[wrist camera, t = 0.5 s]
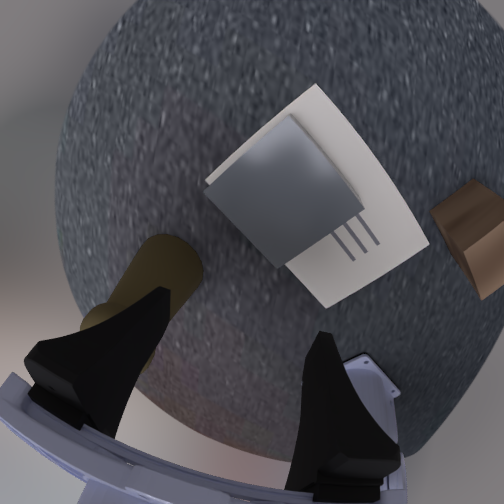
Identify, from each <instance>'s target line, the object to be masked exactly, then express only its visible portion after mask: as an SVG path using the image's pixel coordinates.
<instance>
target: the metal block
mask: <svg viewBox="0 0 504 504" xmlns="http://www.w3.org/2000/svg"><path fill="white" fill-rule="evenodd" d="M203 193H204V194H205V195H206V196H207V197H208V198H209V199H210V200H211V201H212V202H213V203H214V204H215V205H216V206H217V207H218V208H219V209H220V210H221V211H222V213H223V214H224V215H225V216H226V217H227V218H228V219H229V220H230V221H231V222H232V223H233V224H234V225H235V226H236V227H237V228H238V229H239V230H240V231H241V232H242V233H243V234H244V235H245V236H246V237H247V238H248V240H249V241H250V242H251V243H252V244H253V245H254V246H255V247H256V248H257V249H258V250H259V251H260V252H261V253H262V254H263V255H264V256H265V257H266V258H267V259H268V260H269V261H270V262H271V263H272V265H273V266H274V267H275V268H276V269H278V268H280V267H281V266H283V265H284V264H286V263H287V262H289V261H290V260H292V259H293V258H295V257H296V256H298V255H299V254H301V253H302V252H303V251H305V250H306V249H308V248H309V247H311V246H312V245H314V244H315V243H317V242H318V241H320V240H321V239H323V238H324V237H325V236H327V235H328V234H330V233H331V232H333V231H334V230H336V229H337V228H338V227H340V226H341V225H343V224H344V223H346V222H347V221H348V220H350V219H351V218H353V217H354V216H356V215H357V214H358V213H360V212H361V211H363V210H364V209H365V208H364V206H363V204H362V201H361V199H360V197H359V195H358V194H357V193H356V191H355V190H354V189H353V187H352V186H351V185H350V183H349V182H348V181H347V179H346V178H345V177H344V175H343V174H342V173H341V172H340V170H339V169H338V168H337V167H336V165H335V164H334V163H333V162H332V160H331V159H330V158H329V157H328V155H327V154H326V153H325V152H324V151H323V149H322V148H321V147H320V146H319V145H318V143H317V142H316V141H315V140H314V139H313V138H312V136H311V135H310V134H309V133H308V132H307V131H306V129H305V128H304V127H303V126H302V125H301V124H300V123H299V122H298V120H297V119H296V118H295V117H294V116H293V115H292V114H290V115H288V116H287V117H286V118H285V119H283V120H282V121H281V122H280V123H279V124H277V125H276V126H275V127H274V128H273V129H272V130H270V131H269V132H268V133H267V134H266V135H265V136H263V137H262V138H261V139H260V140H259V141H258V142H256V143H255V144H254V145H253V146H252V147H251V148H250V149H249V150H247V151H246V152H245V153H244V154H243V155H242V156H241V157H240V158H238V159H237V160H236V161H235V162H234V163H233V164H232V165H231V166H230V167H229V168H227V169H226V170H225V171H224V172H223V173H222V174H221V175H220V176H219V177H218V178H217V179H216V180H215V181H214V182H212V183H211V184H210V185H209V186H208V187H207V188H206V189H205V190H204V191H203Z"/></svg>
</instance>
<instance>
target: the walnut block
mask: <svg viewBox="0 0 504 504" xmlns="http://www.w3.org/2000/svg"><path fill="white" fill-rule="evenodd" d="M430 213H431V215H432V217H433V219H434V221H435V223H436V225H437V227H438V228H439V230H440V232H441V234H442V236H443V238H444V240H445V243H446V245H447V247H448V249H449V251H450V253H451V255H452V256H453V258H454V259H455V261H456V262H457V263H458V265H459V266H460V268H461V269H462V271H463V272H464V274H465V275H466V277H467V278H468V280H469V281H470V283H471V284H472V286H473V288H474V289H475V291H476V292H477V294H478V296H479V297H480V299H481V301H482V300H483V299H484V298H486V297H487V296H489V295H490V294H491V293H493V292H494V291H495V290H497V289H498V288H499V287H501V286H502V285H503V284H504V199H502V198H501V197H500V196H498V195H497V194H495V193H494V192H493V191H491V190H490V189H488V188H487V187H485V186H484V185H482V184H481V183H479V182H478V181H476V180H475V179H472V180H471V181H469V182H468V183H467V184H465V185H464V186H463V187H461V188H460V189H459V190H457V191H456V192H455V193H453V194H452V195H451V196H449V197H448V198H447V199H445V200H444V201H443V202H441V203H440V204H439V205H437V206H436V207H434V208H433V209H432V210H430Z"/></svg>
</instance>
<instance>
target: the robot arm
mask: <svg viewBox="0 0 504 504" xmlns="http://www.w3.org/2000/svg"><path fill="white" fill-rule="evenodd" d="M170 299H171V290H170V289H167V288H164V287H161V286H159V287H157V288H155V289H154V290H152V291H151V292H150V293H148V294H147V295H145V296H144V297H143V298H141V299H140V300H138V301H137V302H135V303H134V304H132V305H131V306H129V307H128V308H126V309H124V310H123V311H121V312H119V313H118V314H116V315H114V316H113V317H111V318H109V319H107V320H105V321H103V322H101V323H99V324H97V325H95V326H92V327H90V328H87V329H84V330H82V331H79V332H76V333H73V334H70V335H67V336H63V337H59V338H54V339H49V340H43V341H39V342H38V343H37V344H36V345H35V346H34V347H33V349H32V350H31V351H30V352H29V354H28V355H27V356H26V357H25V359H24V364H25V366H26V369H27V370H28V372H29V374H30V375H31V377H32V379H33V380H34V382H35V384H34V385H33V387H31V386H30V385H29V384H28V383H27V382H26V381H25V380H23V379H22V378H20V377H19V376H18V375H17V374H15V373H14V372H12V373H11V374H10V376H9V377H8V378H7V379H6V381H5V382H4V383H3V385H2V386H1V387H0V420H1V421H2V422H3V423H4V424H5V425H6V426H7V427H8V428H9V429H10V430H11V431H12V432H13V433H14V434H16V435H17V436H18V437H19V438H21V439H22V440H23V441H24V442H26V443H27V444H28V445H30V446H31V447H32V448H34V449H35V450H37V451H38V452H39V453H40V454H42V455H43V456H45V457H46V458H48V459H49V460H50V461H52V462H53V463H55V464H56V465H58V466H59V467H61V468H62V469H64V470H65V471H67V472H69V473H70V474H72V475H74V476H75V477H77V478H78V479H80V480H82V481H83V482H85V483H87V484H86V486H85V488H84V490H83V492H82V494H81V497H80V499H79V501H78V503H77V504H408V503H407V478H406V468H405V461H404V456H403V453H401V452H400V448H399V446H398V445H397V442H398V433H397V423H396V414H395V406H394V399H393V398H395V397H397V396H399V395H400V390H399V389H398V388H397V387H396V386H395V385H394V383H393V382H392V381H391V380H390V379H389V378H388V377H387V376H386V375H385V373H384V372H383V371H382V370H381V369H380V368H379V367H378V366H377V365H376V363H375V362H374V361H373V360H372V359H371V358H370V357H369V356H368V355H367V354H362V355H360V356H358V357H356V358H354V359H351V360H349V361H347V362H345V363H343V362H342V360H341V357H340V355H339V352H338V349H337V347H336V344H335V341H334V338H333V336H332V334H331V333H327V332H322V331H319V333H318V335H317V337H316V339H315V340H314V342H313V344H312V346H311V348H310V350H309V352H308V354H307V356H306V358H305V364H304V370H303V377H302V382H301V385H302V398H301V417H300V425H299V431H298V436H297V441H296V446H295V451H294V455H293V459H292V463H291V468H290V471H289V475H288V479H287V482H286V485H285V489H284V490H281V489H273V488H268V487H262V486H257V485H252V484H246V483H242V482H237V481H233V480H228V479H224V478H220V477H216V476H213V475H209V474H205V473H202V472H199V471H195V470H192V469H189V468H186V467H183V466H180V465H177V464H174V463H171V462H168V461H165V460H162V459H160V458H157V457H155V456H152V455H150V454H147V453H145V452H142V451H140V450H137V449H135V448H133V447H130V446H128V445H126V444H124V443H121V442H119V441H117V440H115V436H116V432H117V429H118V426H119V423H120V420H121V418H122V415H123V412H124V410H125V406H126V404H127V402H128V399H129V397H130V395H131V392H132V390H133V388H134V386H135V383H136V381H137V379H138V377H139V375H140V373H141V371H142V369H143V368H144V366H145V364H146V363H147V361H148V360H149V358H150V356H151V355H152V353H153V351H154V350H155V348H156V347H157V345H158V343H159V342H160V340H161V338H162V337H163V334H164V332H165V330H166V328H167V326H168V323H169V321H170ZM127 463H130V464H131V465H129V464H127ZM132 465H134V466H132ZM232 497H233V498H232ZM236 498H238V499H236ZM240 499H243V500H248V501H250V502H247V501H243V500H240Z"/></svg>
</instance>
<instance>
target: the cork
mask: <svg viewBox="0 0 504 504" xmlns="http://www.w3.org/2000/svg"><path fill="white" fill-rule="evenodd" d="M202 278H203V267H202V262H201V260H200V258H199V256H198V255H197V253H196V251H195V250H194V249H193V248H192V247H191V246H190V245H189V244H188V243H186V242H185V241H183V240H181V239H180V238H178V237H175V236H171V235H168V234H160V235H155V236H153V237H150V238H148V239H147V240H146V242H145V243H144V244H143V245H142V246H141V248H140V249H139V251H138V253H137V254H136V256H135V257H134V259H133V260H132V262H131V263H130V265H129V267H128V268H127V270H126V271H125V273H124V275H123V276H122V278H121V279H120V281H119V283H118V284H117V286H116V288H115V289H114V291H113V293H112V294H111V296H110V298H109V299H108V301H107V303H103V304H99V305H97V306H96V307H94V308H93V309H92V310H91V311H90V312H89V313H88V314H87V315H86V316H85V318H84V319H83V321H82V323H81V326H80V331H82V330H84V329H87V328H90V327H92V326H95V325H97V324H99V323H101V322H103V321H105V320H107V319H109V318H111V317H113V316H114V315H116V314H118V313H119V312H121V311H123V310H124V309H126V308H128V307H129V306H131V305H132V304H134V303H135V302H137V301H138V300H140V299H141V298H143V297H144V296H145V295H147V294H148V293H150V292H151V291H152V290H154V289H155V288H157V287H159V286H161V287H164V288H167V289H170V290H171V299H170V320H171V319H172V318H173V317H174V315H175V314H176V313H177V312H178V311H179V309H180V308H181V307H182V306H183V305H184V303H185V302H186V301H187V300H188V299H189V297H190V296H191V295H192V294H193V292H194V291H195V290H196V289H197V288H198V286H199V285H200V283H201V281H202ZM169 322H170V321H169ZM155 350H156V348H155ZM155 350H154V351H153V353H152V355H151V356H150V358H149V360H148V361H147V363H146V364H145V366H144V368H143V369H142V371H141V373H140V374H142V373H143V372H144V371H145V370H146V369H147V368H148V367H149V365H150V363H151V361H152V359H153V357H154V355H155Z"/></svg>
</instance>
